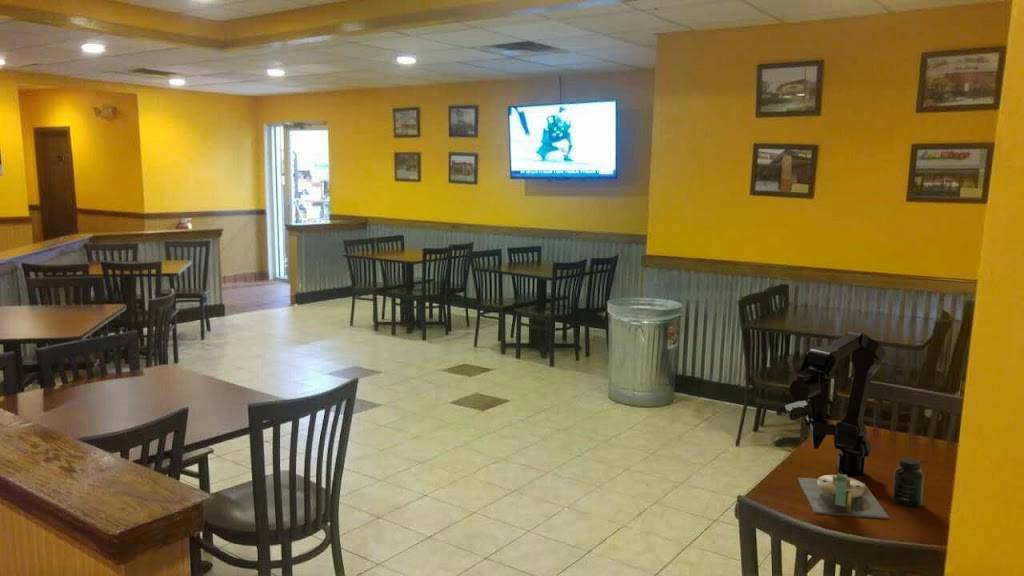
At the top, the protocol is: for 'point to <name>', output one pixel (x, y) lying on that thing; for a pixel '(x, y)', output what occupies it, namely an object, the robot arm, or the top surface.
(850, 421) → the robot arm
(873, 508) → the base
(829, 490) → the flange
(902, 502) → the supplement bottle
